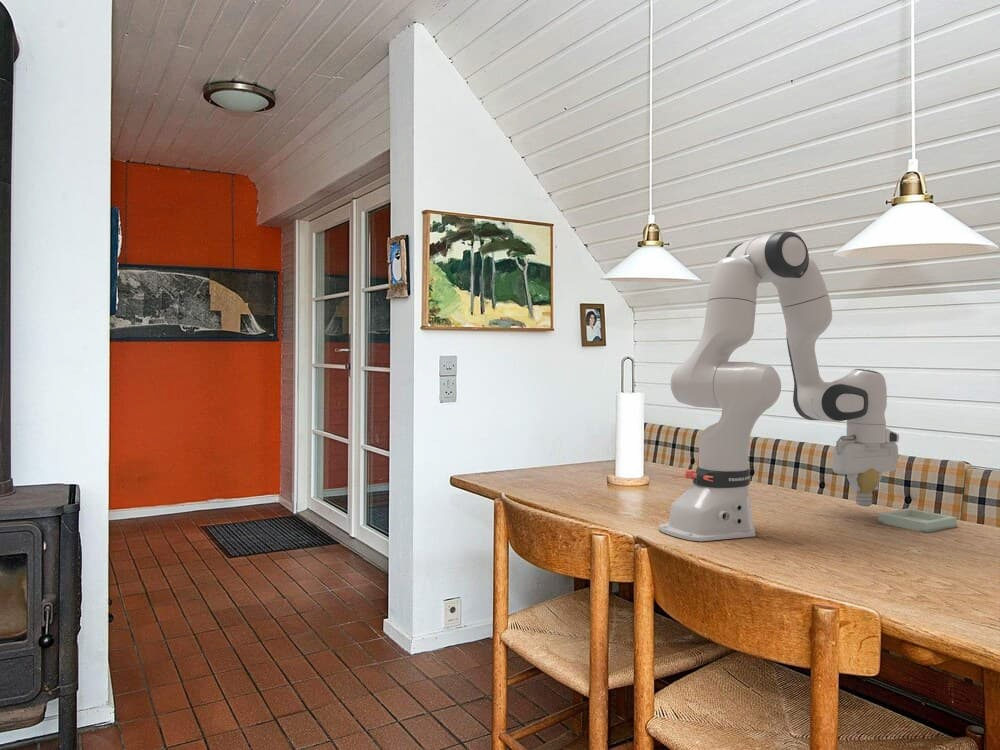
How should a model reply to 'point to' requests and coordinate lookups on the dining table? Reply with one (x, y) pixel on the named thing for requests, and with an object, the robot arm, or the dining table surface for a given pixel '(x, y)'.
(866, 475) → the light bulb
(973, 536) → the dining table surface
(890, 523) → the tray
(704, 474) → the robot arm
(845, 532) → the dining table surface
